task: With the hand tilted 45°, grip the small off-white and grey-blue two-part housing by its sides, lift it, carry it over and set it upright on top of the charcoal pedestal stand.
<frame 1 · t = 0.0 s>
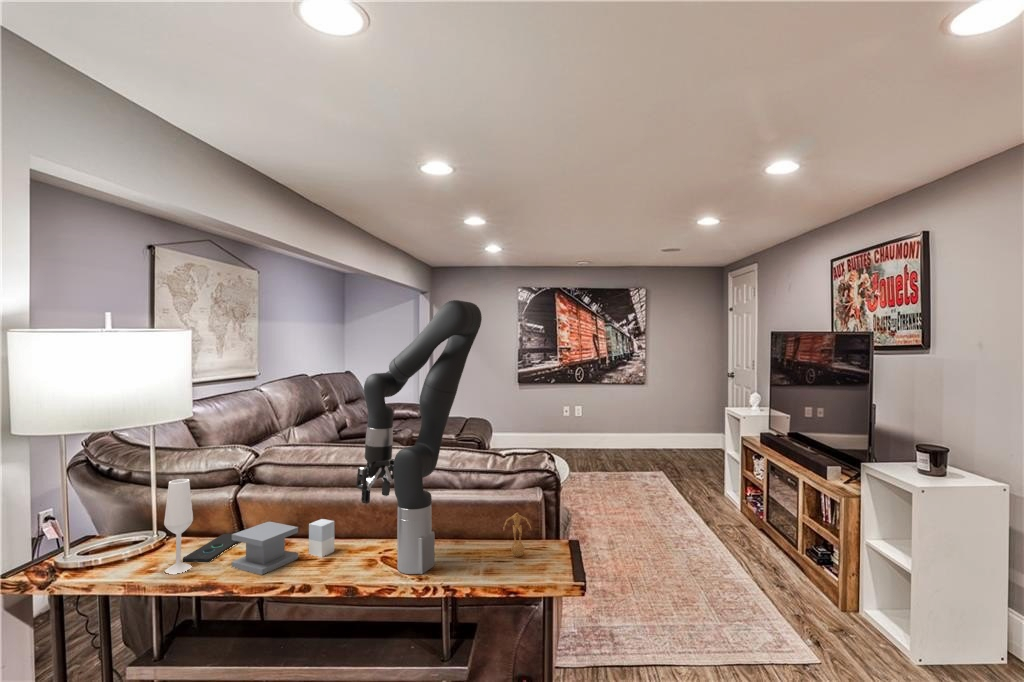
hand: (375, 499, 148), 17 cm above the table, tool pointing down, fingers open, 8 cm apart
smart home device: (216, 551, 156), on the table
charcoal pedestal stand: (265, 562, 146), on the table
housing: (321, 553, 153), on the table
figurine: (517, 555, 151), on the table
champagne flute: (178, 570, 142), on the table
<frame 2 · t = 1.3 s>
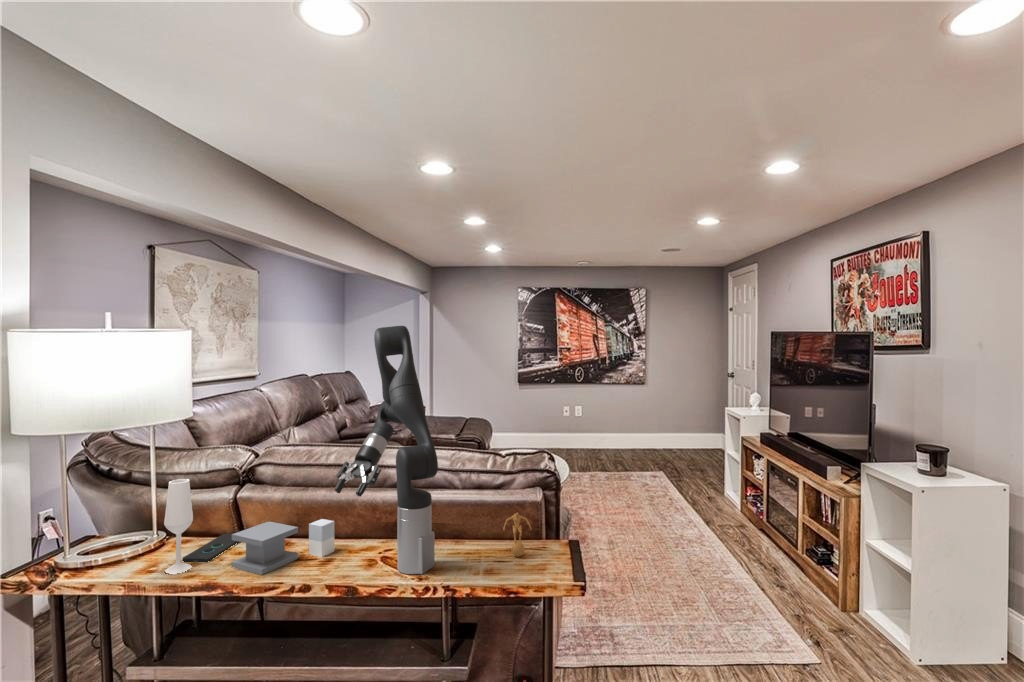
hand: (347, 493, 163), 15 cm above the table, tool tilted 45°, fingers open, 8 cm apart
nothing on the table moved.
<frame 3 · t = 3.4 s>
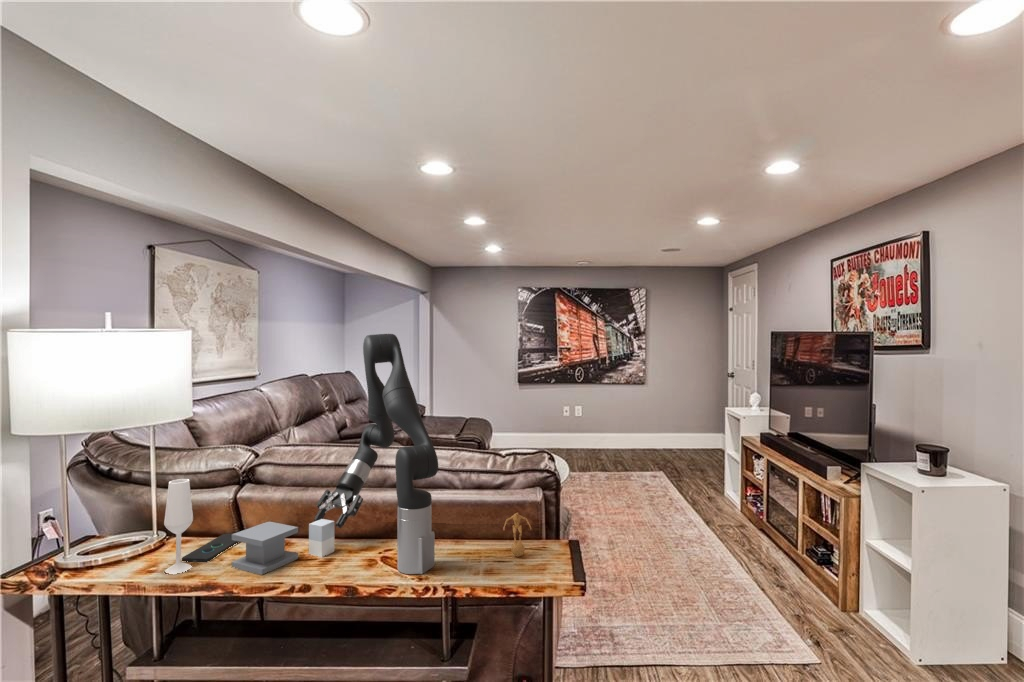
hand: (327, 524, 155), 8 cm above the table, tool tilted 45°, fingers open, 8 cm apart
nothing on the table moved.
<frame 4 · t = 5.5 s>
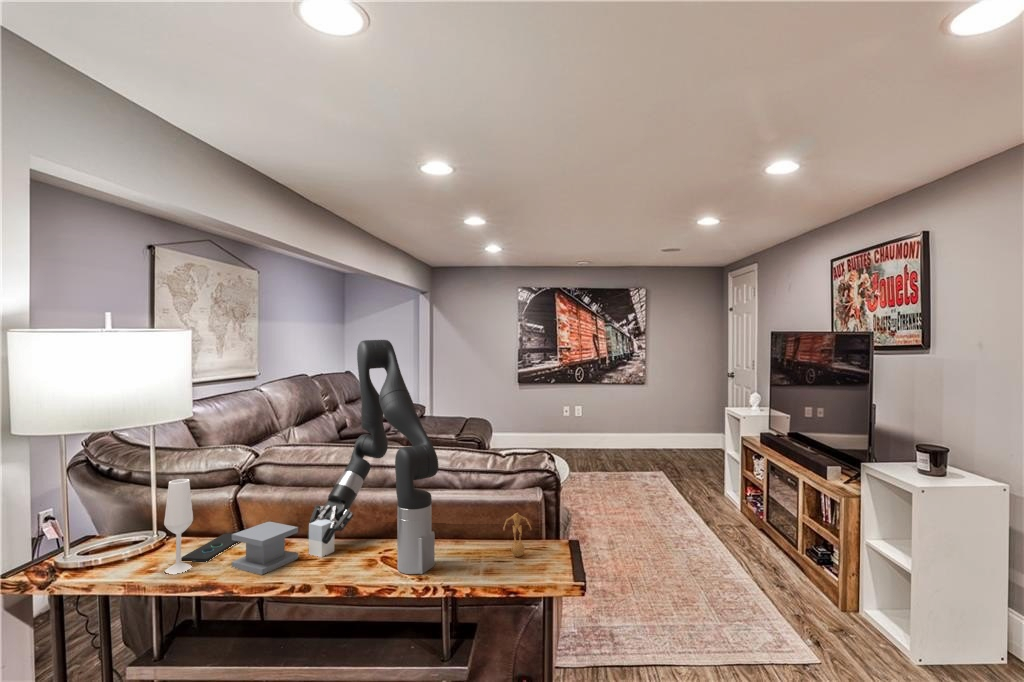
hand: (317, 540, 151), 4 cm above the table, tool tilted 45°, fingers closed on housing, 5 cm apart
housing: (321, 553, 153), on the table, touching gripper
everything else where it was.
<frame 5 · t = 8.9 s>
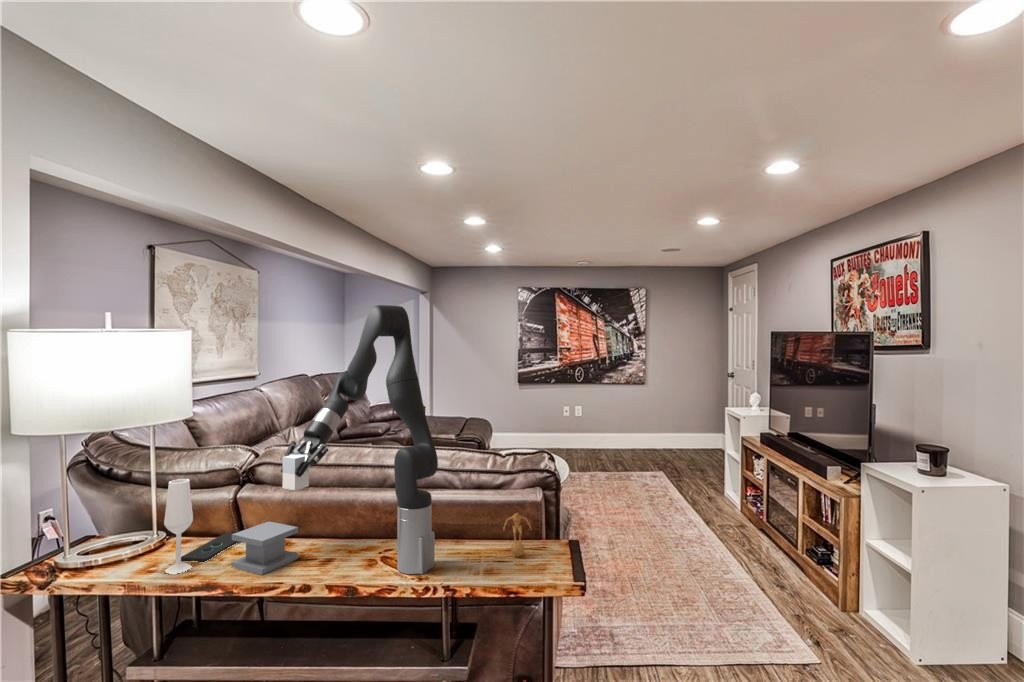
hand: (290, 474, 149), 24 cm above the table, tool tilted 45°, fingers closed on housing, 5 cm apart
housing: (295, 487, 150), point 20 cm above the table, touching gripper
everything else where it was.
when the fingers open (15 cm above the table, at t = 12.5 s): housing drops 1 cm, resting on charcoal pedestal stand.
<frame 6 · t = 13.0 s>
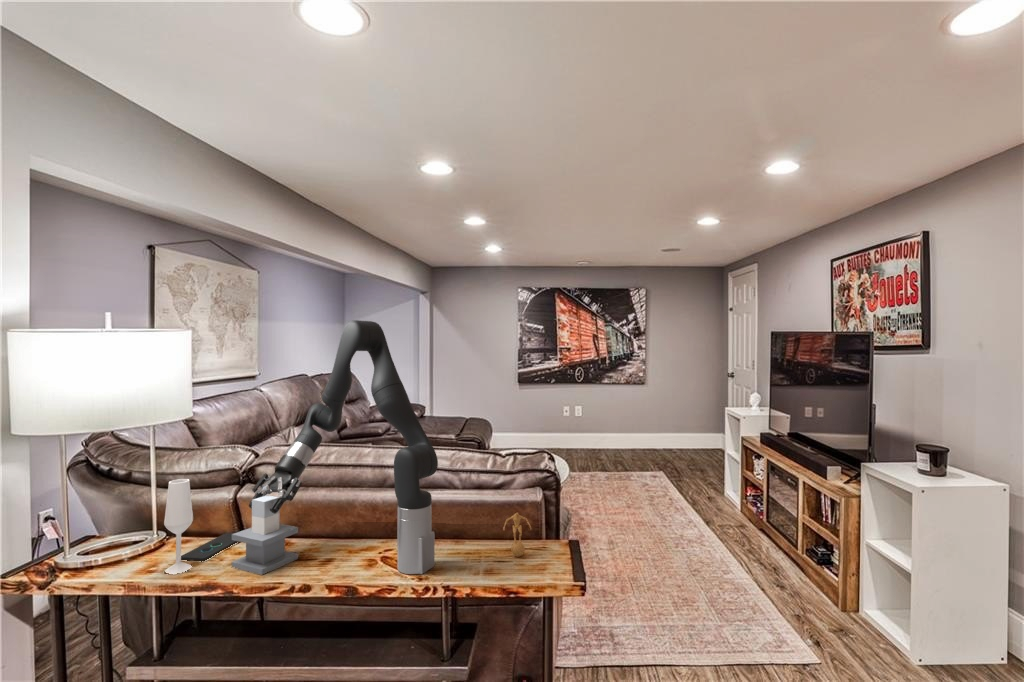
hand: (261, 510, 145), 15 cm above the table, tool tilted 45°, fingers open, 8 cm apart
housing: (265, 530, 146), point 9 cm above the table, touching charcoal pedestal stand
everything else where it was.
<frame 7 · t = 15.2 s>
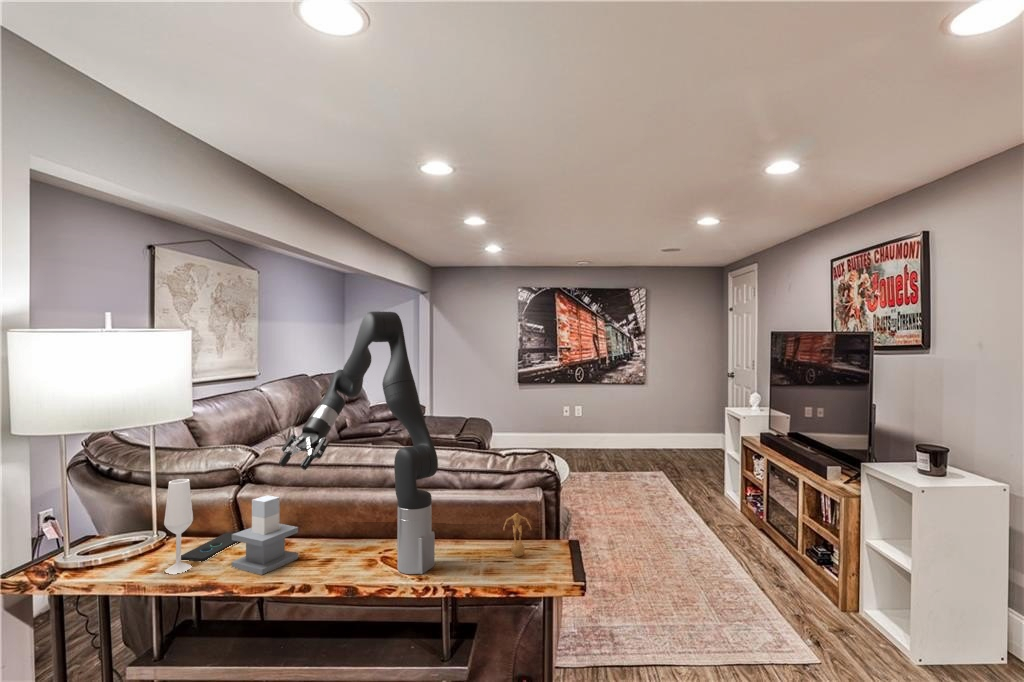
hand: (291, 466, 154), 25 cm above the table, tool tilted 45°, fingers open, 8 cm apart
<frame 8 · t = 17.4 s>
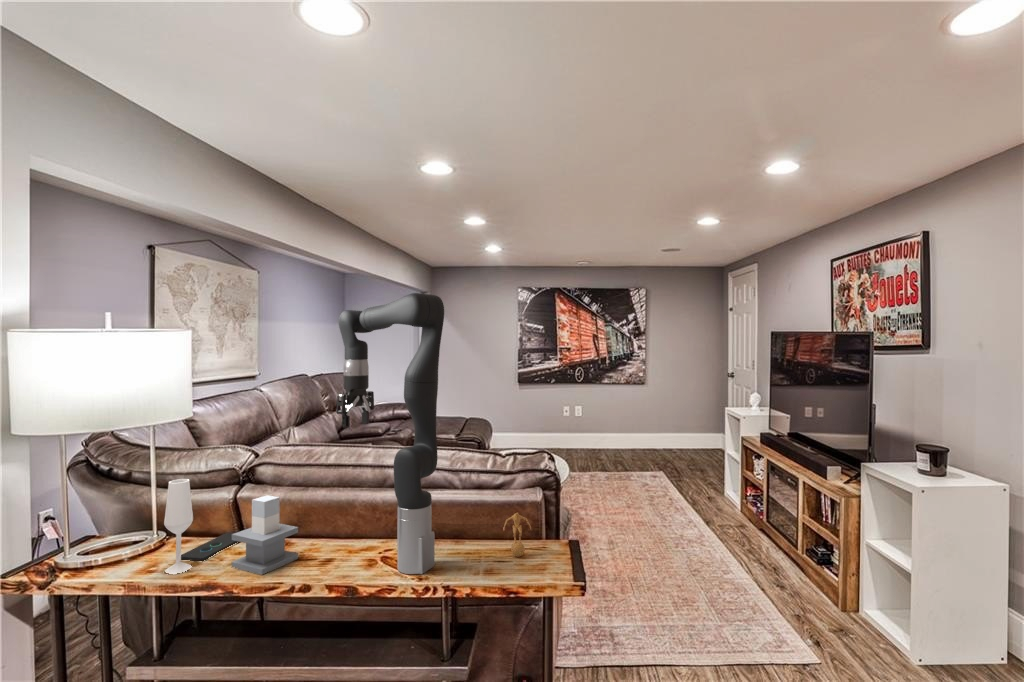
hand: (355, 425, 162), 36 cm above the table, tool pointing down, fingers open, 8 cm apart
at the end: housing inside the target area on the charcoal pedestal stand (0.1 cm from its centre), point 9.0 cm above the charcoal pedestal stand's base; housing tilted 0°; the gripper is holding nothing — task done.
